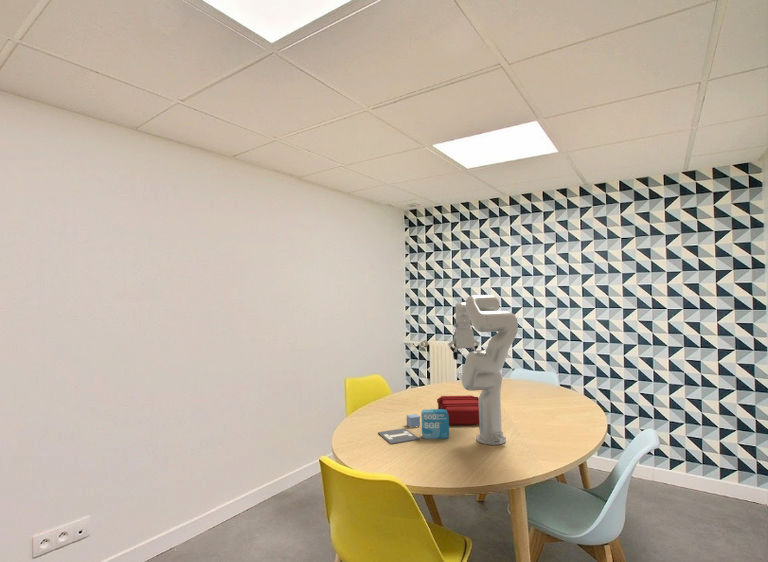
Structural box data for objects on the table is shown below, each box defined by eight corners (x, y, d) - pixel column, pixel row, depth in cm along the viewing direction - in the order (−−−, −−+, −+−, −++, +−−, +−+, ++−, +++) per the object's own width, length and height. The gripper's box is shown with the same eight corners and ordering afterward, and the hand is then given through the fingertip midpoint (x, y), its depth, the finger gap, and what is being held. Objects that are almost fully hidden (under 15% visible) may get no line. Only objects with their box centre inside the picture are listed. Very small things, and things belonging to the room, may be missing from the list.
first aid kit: (436, 409, 226) (436, 394, 226) (477, 408, 225) (476, 393, 226) (443, 427, 194) (443, 409, 194) (490, 426, 193) (490, 408, 194)
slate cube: (420, 426, 194) (419, 416, 195) (411, 428, 192) (410, 417, 193) (415, 424, 199) (415, 414, 199) (406, 425, 197) (406, 415, 197)
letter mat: (419, 439, 176) (419, 438, 176) (390, 444, 171) (390, 443, 171) (404, 429, 191) (404, 428, 191) (378, 433, 186) (377, 432, 186)
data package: (422, 439, 177) (421, 412, 177) (421, 435, 181) (421, 409, 182) (449, 438, 176) (448, 411, 177) (447, 435, 181) (447, 408, 182)
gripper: (450, 327, 199) (451, 361, 199) (481, 325, 204) (482, 359, 203) (445, 326, 207) (446, 359, 206) (475, 325, 211) (476, 357, 210)
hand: (464, 359), depth 204 cm, fingers open, 9 cm apart
